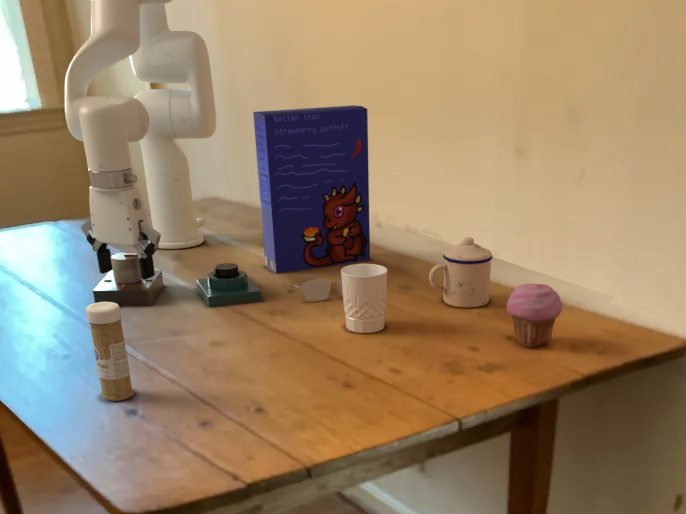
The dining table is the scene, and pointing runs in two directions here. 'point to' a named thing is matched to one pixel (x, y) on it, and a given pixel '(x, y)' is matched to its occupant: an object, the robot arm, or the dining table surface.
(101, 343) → the sprinkles bottle
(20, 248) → the dining table surface
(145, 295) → the dial panel
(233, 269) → the black button
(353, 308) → the white cup
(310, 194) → the cereal box
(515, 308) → the cupcake
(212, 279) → the button housing
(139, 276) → the dial
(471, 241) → the teacup with lid
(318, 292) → the eyeglasses
